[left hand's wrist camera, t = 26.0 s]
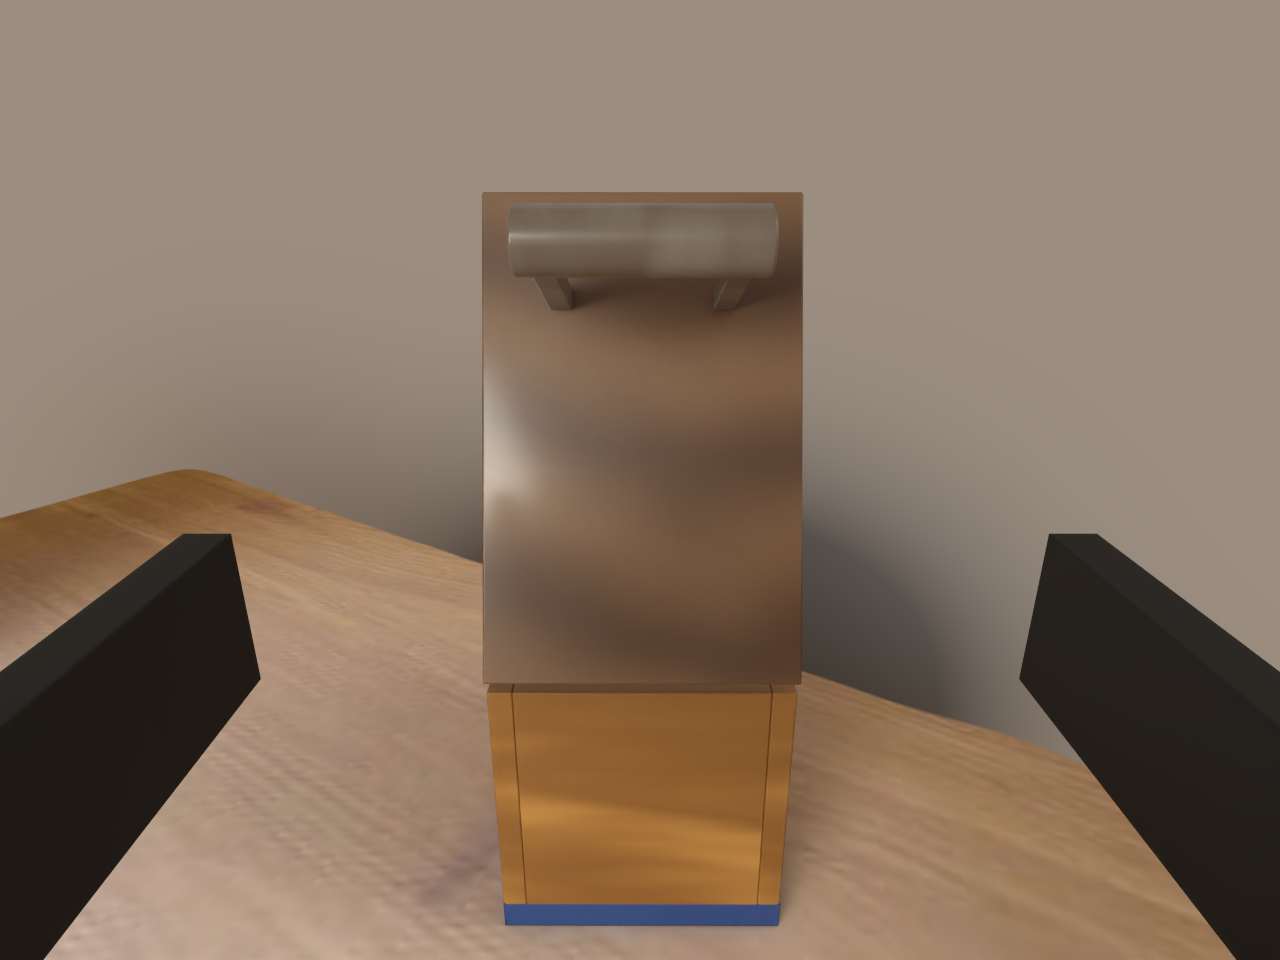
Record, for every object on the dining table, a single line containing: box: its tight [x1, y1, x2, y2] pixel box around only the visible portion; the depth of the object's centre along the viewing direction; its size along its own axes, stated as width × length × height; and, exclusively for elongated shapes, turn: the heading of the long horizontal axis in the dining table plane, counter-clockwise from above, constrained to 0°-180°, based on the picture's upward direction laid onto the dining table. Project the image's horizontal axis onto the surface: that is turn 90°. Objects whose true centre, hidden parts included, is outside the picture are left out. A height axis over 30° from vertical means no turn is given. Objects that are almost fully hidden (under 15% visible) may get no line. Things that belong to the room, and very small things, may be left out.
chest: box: [487, 684, 797, 926], centre depth 34 cm, size 15×10×10 cm
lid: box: [482, 192, 803, 684], centre depth 22 cm, size 16×10×8 cm
